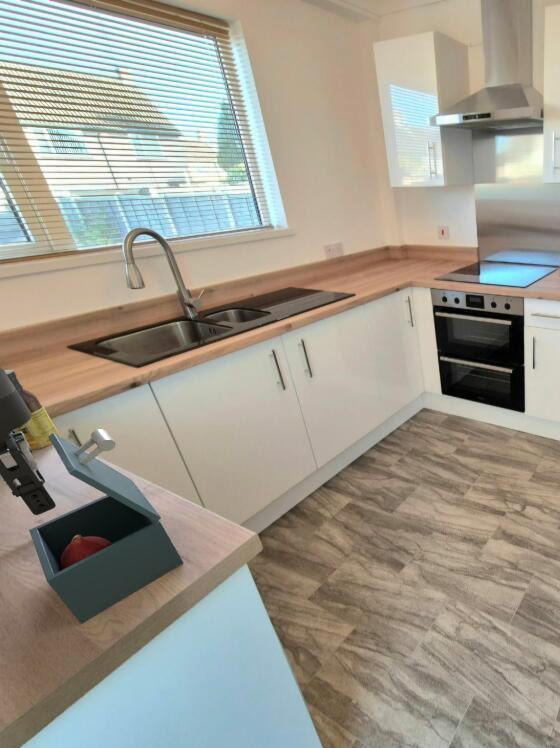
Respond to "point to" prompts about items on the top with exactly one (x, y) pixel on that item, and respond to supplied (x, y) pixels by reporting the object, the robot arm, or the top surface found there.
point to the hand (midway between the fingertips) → (40, 497)
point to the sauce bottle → (34, 418)
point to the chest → (103, 555)
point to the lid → (102, 471)
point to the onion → (82, 549)
